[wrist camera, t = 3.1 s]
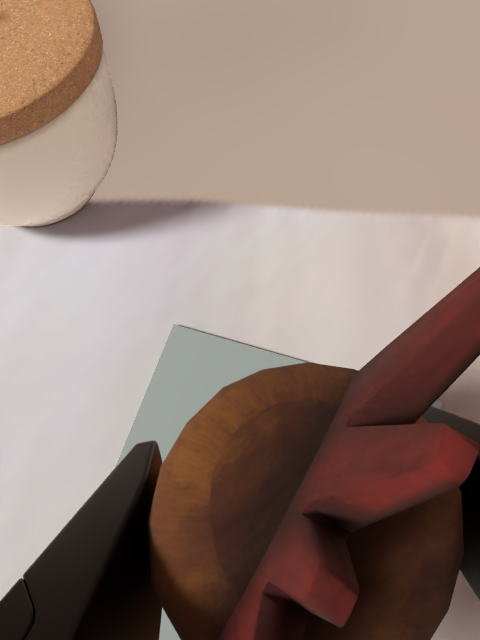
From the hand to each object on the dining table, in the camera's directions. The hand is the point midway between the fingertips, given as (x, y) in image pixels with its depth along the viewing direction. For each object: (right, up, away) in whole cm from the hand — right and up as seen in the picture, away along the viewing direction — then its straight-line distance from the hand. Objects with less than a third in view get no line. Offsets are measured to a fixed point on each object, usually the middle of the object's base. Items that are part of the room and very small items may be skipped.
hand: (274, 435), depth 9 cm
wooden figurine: (0, -5, +7) cm, 8 cm away
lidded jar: (-12, +10, +14) cm, 21 cm away
